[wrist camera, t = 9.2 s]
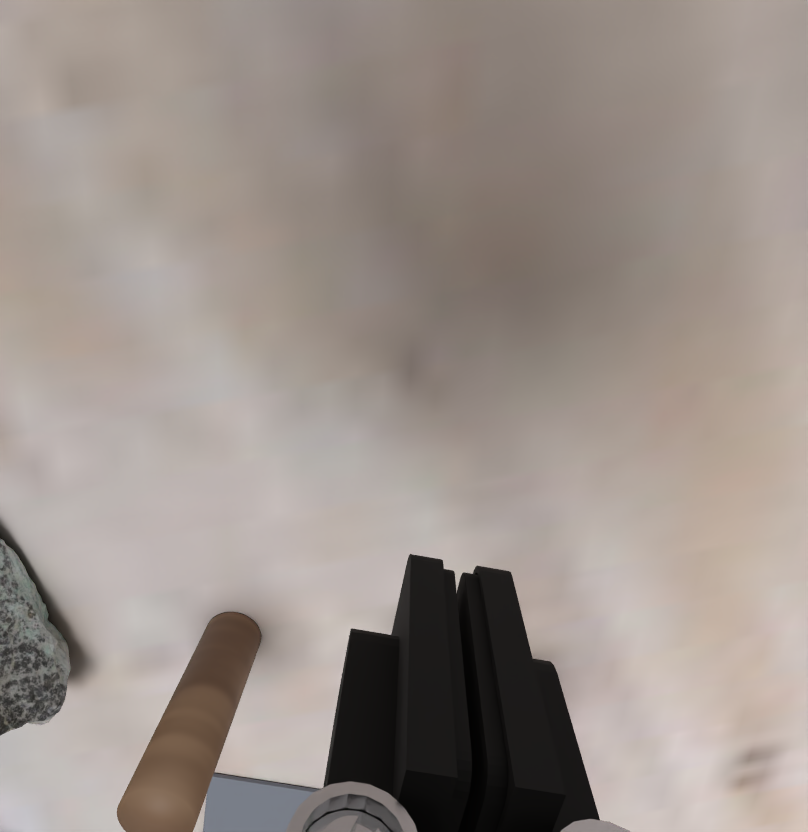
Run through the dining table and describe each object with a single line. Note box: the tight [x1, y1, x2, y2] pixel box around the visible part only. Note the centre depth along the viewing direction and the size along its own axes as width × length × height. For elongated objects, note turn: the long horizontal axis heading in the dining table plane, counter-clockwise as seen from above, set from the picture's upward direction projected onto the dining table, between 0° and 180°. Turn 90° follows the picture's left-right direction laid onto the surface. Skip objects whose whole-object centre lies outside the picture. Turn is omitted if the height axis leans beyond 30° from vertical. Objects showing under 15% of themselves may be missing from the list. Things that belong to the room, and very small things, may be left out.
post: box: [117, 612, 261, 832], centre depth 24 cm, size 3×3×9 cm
